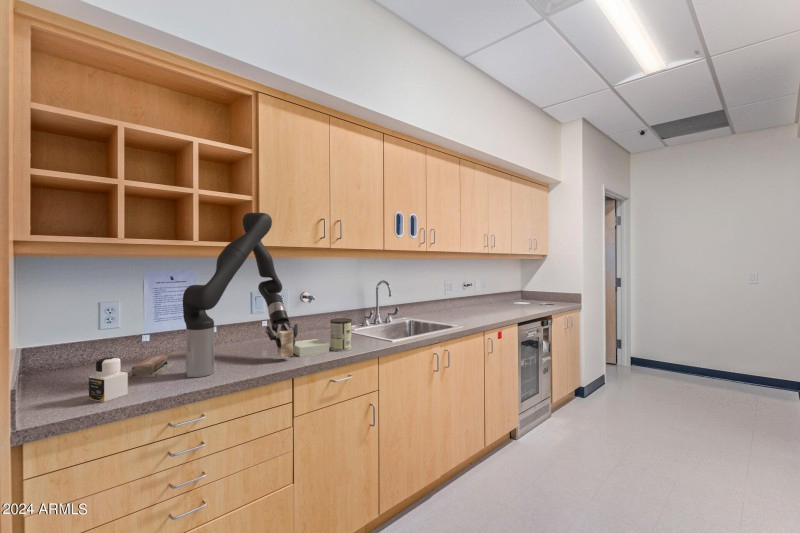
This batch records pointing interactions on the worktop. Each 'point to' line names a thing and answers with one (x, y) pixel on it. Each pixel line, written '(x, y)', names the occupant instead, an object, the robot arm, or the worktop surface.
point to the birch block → (286, 343)
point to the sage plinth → (310, 347)
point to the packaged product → (151, 367)
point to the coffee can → (340, 334)
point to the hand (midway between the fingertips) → (286, 346)
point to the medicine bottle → (108, 380)
